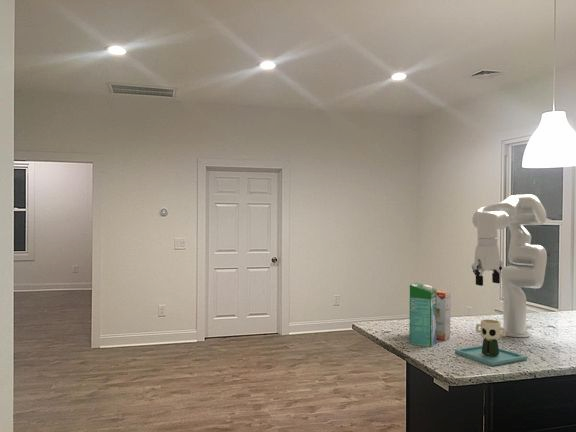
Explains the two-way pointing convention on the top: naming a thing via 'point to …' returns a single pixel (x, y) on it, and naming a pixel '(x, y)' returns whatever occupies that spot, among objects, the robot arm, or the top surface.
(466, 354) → the tray
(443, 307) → the cracker box
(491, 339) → the character mug
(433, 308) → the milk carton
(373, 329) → the top surface
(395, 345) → the top surface
